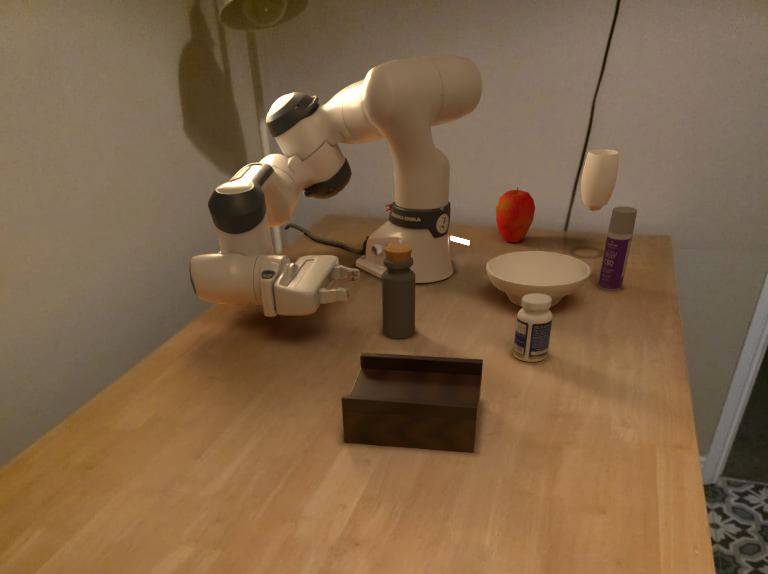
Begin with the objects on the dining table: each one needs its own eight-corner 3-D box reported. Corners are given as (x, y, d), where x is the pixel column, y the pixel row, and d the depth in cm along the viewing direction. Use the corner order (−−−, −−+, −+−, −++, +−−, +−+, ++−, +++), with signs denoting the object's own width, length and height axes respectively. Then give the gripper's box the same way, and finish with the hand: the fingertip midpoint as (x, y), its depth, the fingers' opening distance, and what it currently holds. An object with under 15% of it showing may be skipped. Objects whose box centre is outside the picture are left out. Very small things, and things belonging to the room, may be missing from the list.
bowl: (522, 277, 142) (526, 244, 137) (603, 301, 131) (610, 266, 126) (463, 303, 131) (465, 268, 127) (546, 331, 120) (551, 294, 116)
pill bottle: (549, 350, 114) (557, 293, 108) (544, 365, 110) (552, 306, 104) (516, 346, 116) (522, 289, 109) (509, 360, 111) (516, 302, 105)
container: (596, 289, 135) (610, 211, 126) (599, 282, 139) (613, 205, 129) (620, 292, 134) (636, 213, 125) (622, 284, 137) (639, 207, 128)
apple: (489, 236, 165) (493, 183, 157) (525, 234, 165) (530, 181, 158) (498, 247, 157) (503, 193, 150) (535, 245, 158) (542, 191, 150)
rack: (344, 442, 93) (341, 398, 88) (363, 393, 104) (361, 352, 99) (473, 452, 90) (477, 407, 86) (479, 401, 101) (483, 359, 97)
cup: (577, 245, 157) (593, 147, 144) (607, 251, 154) (626, 150, 141) (565, 254, 153) (580, 153, 140) (595, 259, 150) (613, 157, 137)
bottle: (411, 340, 118) (412, 254, 109) (379, 338, 119) (377, 252, 110) (417, 326, 123) (418, 243, 113) (386, 324, 124) (384, 241, 114)
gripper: (295, 278, 129) (365, 281, 127) (262, 320, 113) (342, 324, 111) (291, 244, 125) (363, 247, 123) (257, 284, 109) (340, 287, 107)
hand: (353, 284), depth 117 cm, fingers open, 8 cm apart
